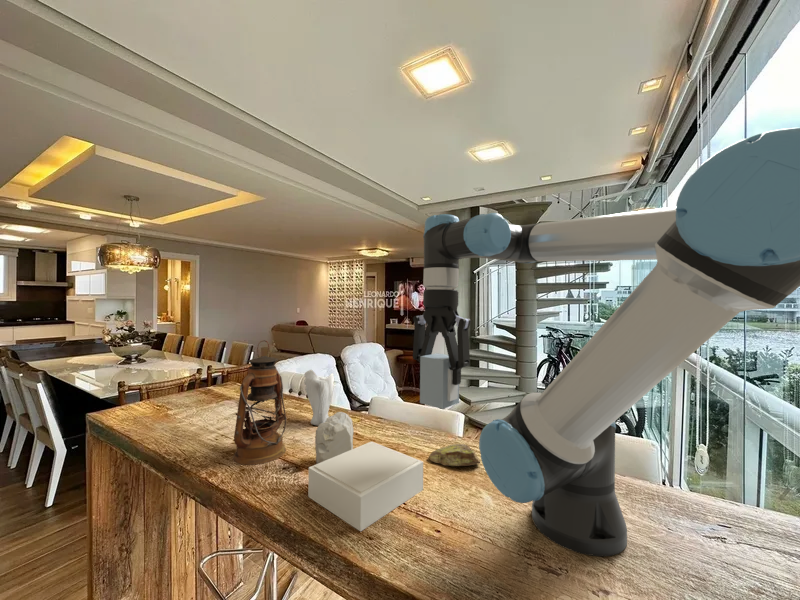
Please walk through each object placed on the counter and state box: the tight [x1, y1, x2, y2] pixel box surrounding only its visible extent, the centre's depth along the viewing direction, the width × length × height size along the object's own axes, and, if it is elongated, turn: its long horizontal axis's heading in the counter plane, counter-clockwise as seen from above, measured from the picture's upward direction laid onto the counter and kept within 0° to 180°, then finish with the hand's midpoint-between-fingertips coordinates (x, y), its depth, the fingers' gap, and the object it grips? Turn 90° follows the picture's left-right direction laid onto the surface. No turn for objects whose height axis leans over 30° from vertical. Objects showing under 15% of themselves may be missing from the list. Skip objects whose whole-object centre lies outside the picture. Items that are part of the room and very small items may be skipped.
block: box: [419, 352, 460, 410], centre depth 73 cm, size 6×6×10 cm
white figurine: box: [303, 369, 335, 426], centre depth 113 cm, size 8×8×18 cm
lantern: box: [232, 340, 288, 466], centre depth 90 cm, size 17×13×30 cm
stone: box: [314, 411, 355, 464], centre depth 87 cm, size 10×5×12 cm, turn 122°
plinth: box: [307, 440, 424, 532], centre depth 72 cm, size 16×18×6 cm
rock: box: [428, 443, 481, 467], centre depth 87 cm, size 12×7×10 cm
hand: (439, 396), depth 73 cm, fingers closed on block, 6 cm apart
